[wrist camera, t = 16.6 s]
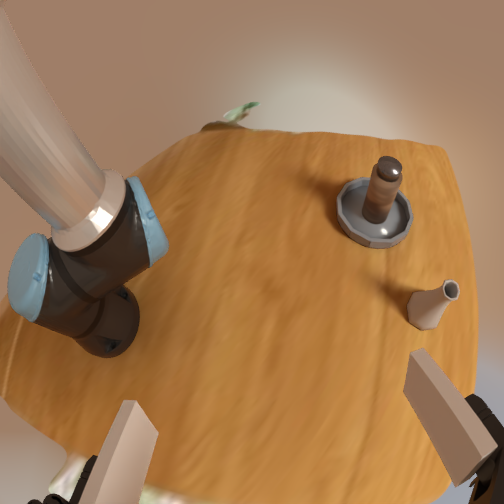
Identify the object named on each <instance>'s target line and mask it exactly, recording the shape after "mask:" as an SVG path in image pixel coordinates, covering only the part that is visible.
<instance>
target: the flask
mask: <svg viewBox="0 0 504 504" xmlns="http://www.w3.org/2000/svg"><path fill="white" fill-rule="evenodd" d="M459 293H460V291H459V286H458V283H456V282H455V281H453V280H452V279H450V280H445V281H444V283H443V285H442V286H441V287H439V288H437V289H435V290H428V291H419V292H413V294H412V296H411V298H410V300H409V302H408V304H407V311H408V318H409V323H411V324H412V325H414V326H415V327H417V328H419V329H420V330H422V331H423V330H429V329H434V328H436V327H437V325H438V322H439V320H440V318H441V316H442V314H443V312H444V310H445V308H446V307H447V305H448V304H449V303H450V302H451V301H453V300H457V299H458V296H459Z"/></svg>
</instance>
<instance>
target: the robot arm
mask: <svg viewBox="0 0 504 504" xmlns="http://www.w3.org/2000/svg"><path fill="white" fill-rule="evenodd" d="M5 2H6V0H0V176H1V178H2V179H3V180H4V181H5V182H6V183H7V184H8V185H9V186H10V187H11V188H12V189H13V190H14V191H15V192H16V193H17V194H18V195H19V196H20V197H21V198H22V199H23V200H24V201H25V202H26V203H27V204H28V205H30V206H31V207H32V208H33V209H34V210H35V211H36V212H37V213H38V214H39V215H40V216H41V217H42V218H44V219H45V220H46V221H47V222H48V223H49V224H50V225H51V235H52V237H51V238H49V239H47V238H46V236H44V235H43V234H42V235H41V234H39V233H38V234H35V233H34V234H31V235H30V236H29V237H27V238H26V239H25V240H24V242H23V243H22V244H21V246H20V247H19V249H18V251H17V253H16V254H15V257H14V259H13V262H12V265H11V268H10V272H9V277H8V298H9V302H10V304H11V307H12V308H13V310H14V311H15V312H17V313H18V314H20V315H21V316H23V317H25V318H27V320H28V321H30V322H34V323H36V324H38V325H41V326H43V327H46V328H48V329H51V330H53V331H56V332H58V333H61V334H63V335H66V336H69V337H72V338H73V339H74V340H75V341H76V342H77V343H78V344H79V345H80V346H81V347H83V348H84V349H85V350H86V351H87V352H89V353H91V354H93V355H95V356H99V357H102V358H111V357H115V356H118V355H119V354H121V353H122V352H124V351H125V350H126V349H127V348H128V347H129V346H130V344H131V343H132V341H133V340H134V338H135V336H136V333H137V330H138V326H139V318H140V314H139V306H138V303H137V300H136V298H135V296H134V295H133V293H132V292H131V291H130V290H129V289H128V288H126V287H125V286H124V285H123V284H124V283H126V282H127V281H129V280H130V279H132V278H133V277H135V276H136V275H138V274H140V273H141V272H143V271H144V270H146V269H147V268H150V267H151V266H152V265H153V263H155V262H156V261H157V260H159V259H160V258H161V257H163V256H164V255H165V254H166V253H167V251H168V249H169V242H168V239H167V237H166V235H165V233H164V231H163V229H162V227H161V225H160V223H159V221H158V219H157V217H156V215H155V213H154V210H153V208H152V206H151V204H150V202H149V199H148V197H147V195H146V193H145V191H144V189H143V187H142V184H141V182H140V180H139V178H138V177H136V176H133V177H131V178H127V179H126V180H124V179H123V177H122V176H121V175H120V174H119V173H118V172H117V171H115V170H111V169H103V170H101V169H100V168H99V167H98V165H97V164H96V162H95V161H94V160H93V158H92V157H91V155H90V154H89V152H88V151H87V150H86V148H85V147H84V145H83V144H82V143H81V141H80V140H79V138H78V137H77V135H76V134H75V132H74V131H73V129H72V128H71V126H70V125H69V124H68V122H67V120H66V119H65V117H64V116H63V114H62V113H61V111H60V110H59V108H58V107H57V105H56V103H55V102H54V100H53V99H52V97H51V95H50V94H49V92H48V91H47V89H46V87H45V86H44V84H43V82H42V81H41V79H40V77H39V75H38V74H37V72H36V70H35V69H34V67H33V65H32V63H31V61H30V60H29V58H28V56H27V54H26V52H25V51H24V49H23V47H22V45H21V43H20V41H19V39H18V37H17V35H16V33H15V31H14V29H13V27H12V25H11V23H10V21H9V18H8V16H7V14H6V12H5V10H4V6H5ZM403 392H404V394H405V396H406V397H407V399H408V401H409V402H410V404H411V406H412V408H413V409H414V411H415V413H416V414H417V416H418V418H419V420H420V421H421V423H422V425H423V427H424V428H425V430H426V432H427V434H428V436H429V437H430V439H431V441H432V443H433V445H434V447H435V449H436V450H437V452H438V454H439V456H440V458H441V460H442V462H443V464H444V466H445V468H446V470H447V472H448V473H449V475H450V477H451V480H452V482H453V483H454V486H455V487H457V486H459V485H461V484H462V483H464V482H465V481H467V480H468V479H470V478H471V477H472V476H473V475H474V474H475V473H476V474H477V477H476V478H475V479H474V480H473V481H472V482H471V484H470V486H469V487H472V486H473V485H474V484H475V485H474V488H473V491H472V495H471V498H470V500H469V503H468V504H504V427H503V426H502V424H501V423H500V422H499V420H498V419H497V418H496V416H495V415H494V414H492V411H491V410H490V409H489V408H488V406H487V405H486V403H485V402H484V401H483V400H482V399H481V398H480V397H478V396H476V395H474V394H471V395H469V396H468V397H466V398H463V396H462V395H461V394H460V392H459V391H458V390H457V388H456V387H455V386H454V385H453V383H452V382H451V381H450V380H449V378H448V377H447V376H446V375H445V373H444V372H443V371H442V370H441V368H440V367H439V366H438V365H437V364H436V362H435V361H434V360H433V359H432V358H431V356H430V355H429V354H428V353H427V352H426V350H425V349H424V348H421V349H418V350H416V351H413V352H411V353H410V356H409V362H408V368H407V374H406V380H405V385H404V390H403ZM158 434H159V433H158V431H157V430H156V429H155V427H154V426H153V424H152V423H151V422H150V420H149V419H148V417H147V416H146V414H145V413H144V411H143V410H142V408H141V407H140V405H139V404H138V402H137V401H136V400H124V401H123V403H122V405H121V407H120V409H119V411H118V414H117V416H116V418H115V420H114V422H113V424H112V426H111V428H110V431H109V433H108V435H107V437H106V439H105V442H104V444H103V446H102V448H101V451H100V453H99V455H98V456H95V455H93V456H92V457H91V458H90V459H89V460H88V461H87V462H86V464H85V467H84V469H83V472H82V473H81V476H80V477H81V478H79V480H78V483H77V485H76V487H75V490H74V492H73V494H72V497H71V499H70V501H69V502H68V501H66V500H65V499H64V498H62V497H61V496H60V495H57V494H50V495H48V496H46V498H45V499H44V501H43V503H41V502H40V501H39V500H35V499H34V500H31V501H29V502H28V504H138V503H139V500H140V496H141V492H142V489H143V485H144V481H145V478H146V474H147V471H148V467H149V464H150V460H151V457H152V454H153V450H154V447H155V443H156V440H157V437H158Z"/></svg>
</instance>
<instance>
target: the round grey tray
mask: <svg viewBox="0 0 504 504" xmlns="http://www.w3.org/2000/svg"><path fill="white" fill-rule="evenodd" d="M369 182H370V178H366V177H362V178H358V179H356V180H353V181H351V182H348V183H346V184H345V185H344V187H343V188H342V190H341V192H340V193H339V194H338V196H337V201H336V207H337V208H336V213H337V219H338V222H339V224H340V226H341V228H342V229H343V231H344V232H345V233H346V234H347V235H348V236H349V237H350V238H351V239H353V240H354V241H356V242H357V243H359V244H361V245H363V246H366V247H369V248H375V249H385V248H389V247H393V246H395V245H397V244H398V243H399V242H401V241H402V240H403V239H405V237H406V236H407V234H408V232H409V229H410V227H411V224H412V221H413V214H412V209H411V205H410V202H409V200H408V199H407V198H406V197H405V196H404V194H403V193H402V192H401V191H400V190H399V189H398V192H397V194H396V197H395V199H394V202H393V204H392V207H391V209H390V212H389V214H388V216H387V219H386V221H385V222H384V223H382V224H372V223H369V222H368V221H367V220H366V219H365V218H364V217H363V215H362V207H363V204H364V200H365V197H366V193H367V189H368V186H369Z"/></svg>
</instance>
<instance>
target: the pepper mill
mask: <svg viewBox="0 0 504 504" xmlns="http://www.w3.org/2000/svg"><path fill="white" fill-rule="evenodd" d="M401 171H402V165H401V163H400V162H399V161H398V160H397V159H395V158H393V157H390V156H383V157H381V158H380V159H379V161H378V163H377V164H375V165H374V167H373V170H372V174H371V178H370V182H369V186H368V189H367V193H366V197H365V200H364V204H363V207H362V215H363V217H364V218H365V219H366V220H367V221H368V222H369V223H372V224H382V223H384V222H385V221H386V219H387V216H388V214H389V212H390V209H391V207H392V204H393V202H394V199H395V197H396V194H397V192H398V189H399V187H400V184H401V181H402V173H401Z"/></svg>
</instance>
